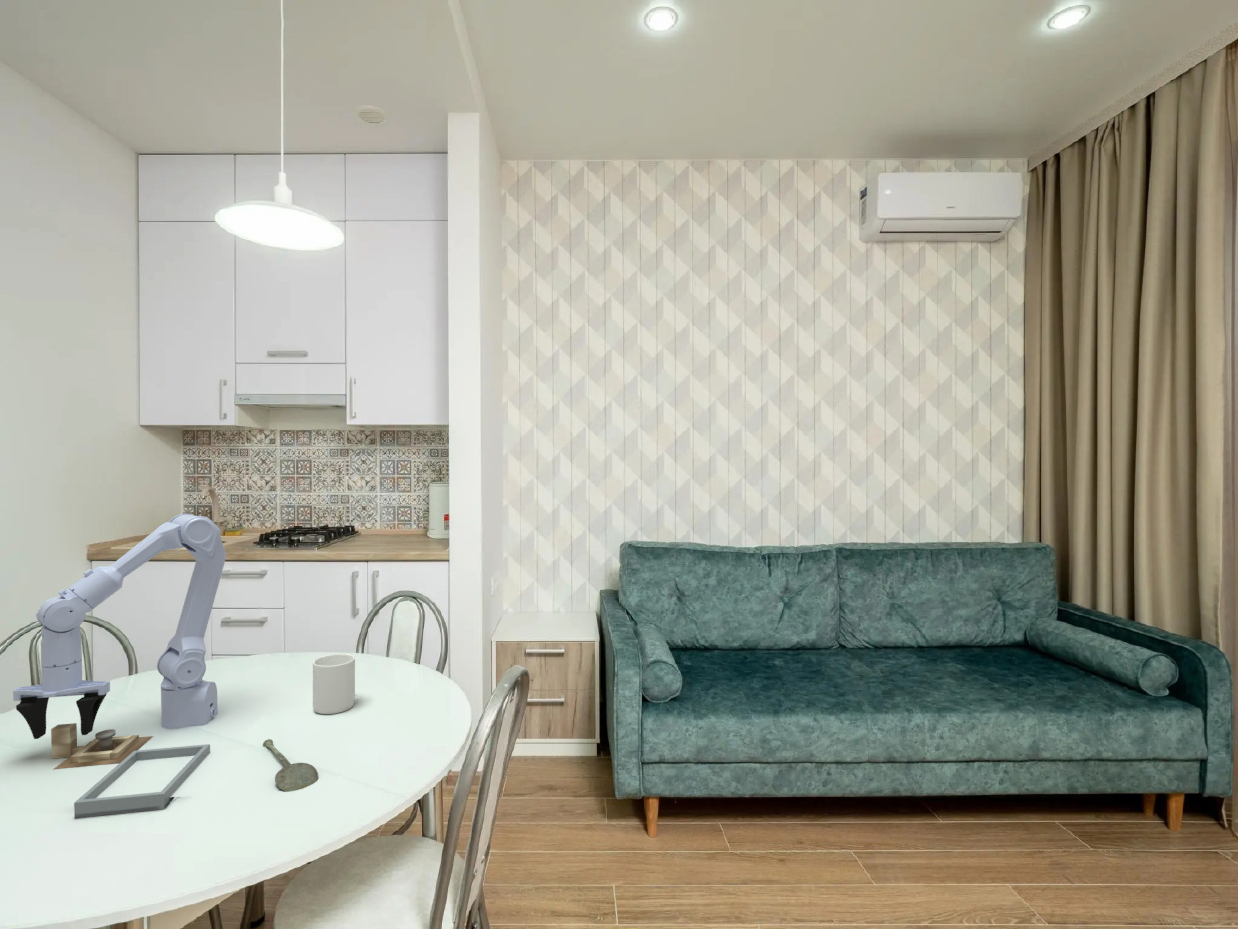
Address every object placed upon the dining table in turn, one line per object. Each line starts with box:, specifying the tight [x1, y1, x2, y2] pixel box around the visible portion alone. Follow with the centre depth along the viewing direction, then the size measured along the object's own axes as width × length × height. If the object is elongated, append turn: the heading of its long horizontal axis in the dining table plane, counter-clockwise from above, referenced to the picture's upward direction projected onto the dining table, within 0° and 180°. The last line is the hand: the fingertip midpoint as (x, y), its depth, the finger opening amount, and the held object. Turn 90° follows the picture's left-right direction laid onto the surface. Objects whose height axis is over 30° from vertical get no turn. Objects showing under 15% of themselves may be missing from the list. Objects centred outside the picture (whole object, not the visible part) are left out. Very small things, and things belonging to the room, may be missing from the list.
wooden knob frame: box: [50, 722, 140, 763], centre depth 121 cm, size 12×8×6 cm, turn 102°
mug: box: [312, 653, 356, 715], centre depth 145 cm, size 9×12×11 cm
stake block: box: [53, 728, 154, 770], centre depth 121 cm, size 11×11×5 cm
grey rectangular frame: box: [73, 743, 211, 819], centre depth 111 cm, size 13×18×2 cm
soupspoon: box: [262, 738, 319, 793], centre depth 118 cm, size 22×3×7 cm
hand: (63, 734), depth 120 cm, fingers open, 7 cm apart
